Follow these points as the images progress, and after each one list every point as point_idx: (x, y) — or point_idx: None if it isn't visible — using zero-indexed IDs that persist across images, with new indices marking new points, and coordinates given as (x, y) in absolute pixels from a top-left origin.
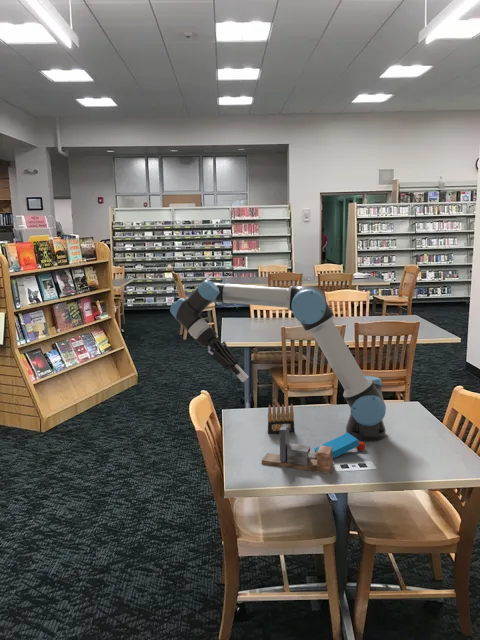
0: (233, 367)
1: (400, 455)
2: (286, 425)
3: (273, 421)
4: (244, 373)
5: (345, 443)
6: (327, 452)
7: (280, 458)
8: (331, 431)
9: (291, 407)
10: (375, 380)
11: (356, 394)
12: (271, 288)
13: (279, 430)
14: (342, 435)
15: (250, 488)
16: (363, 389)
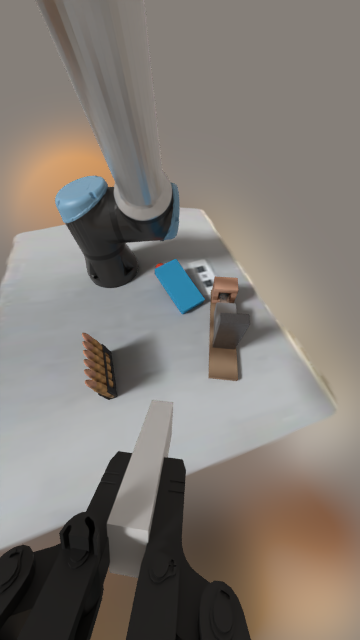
0: (181, 541)
1: (169, 243)
2: (225, 316)
3: (105, 381)
4: (157, 424)
5: (181, 272)
6: (234, 279)
7: (235, 347)
8: (106, 303)
9: (89, 336)
10: (101, 177)
11: (171, 193)
12: None
13: (111, 374)
14: (160, 275)
15: (318, 379)
16: (168, 178)
